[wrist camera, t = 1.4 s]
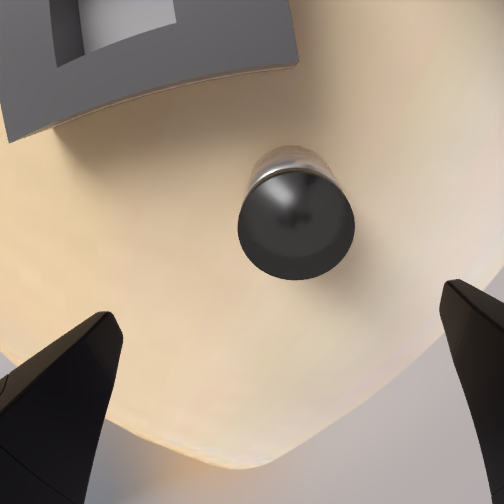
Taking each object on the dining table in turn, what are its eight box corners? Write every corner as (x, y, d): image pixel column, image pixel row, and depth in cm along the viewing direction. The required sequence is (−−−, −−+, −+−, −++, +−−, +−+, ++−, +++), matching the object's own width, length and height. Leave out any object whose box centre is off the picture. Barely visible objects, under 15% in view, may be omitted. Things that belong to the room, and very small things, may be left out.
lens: (330, 142, 17) (352, 168, 12) (335, 221, 20) (354, 274, 14) (243, 151, 18) (227, 181, 13) (256, 229, 20) (247, 284, 15)
